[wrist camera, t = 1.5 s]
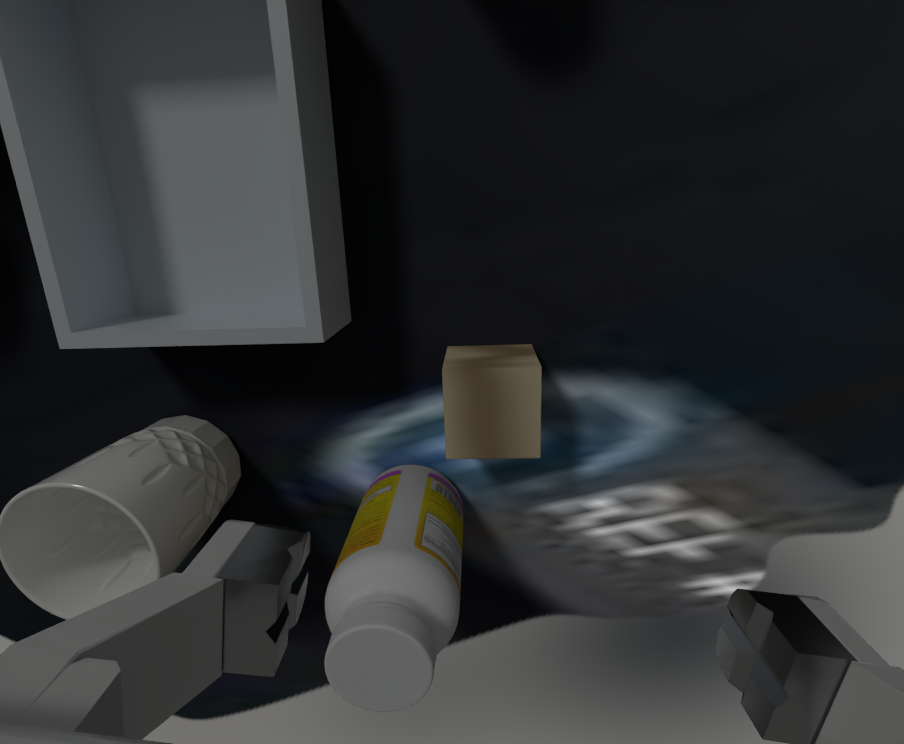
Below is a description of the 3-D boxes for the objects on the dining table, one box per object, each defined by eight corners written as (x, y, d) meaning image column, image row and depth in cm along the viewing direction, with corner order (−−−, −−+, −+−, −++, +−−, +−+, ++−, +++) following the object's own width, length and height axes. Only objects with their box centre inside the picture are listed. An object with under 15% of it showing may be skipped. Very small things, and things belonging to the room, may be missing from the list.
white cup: (155, 384, 32) (16, 454, 22) (268, 440, 33) (181, 531, 23) (119, 481, 34) (-21, 583, 25) (227, 531, 35) (131, 649, 25)
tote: (58, -10, 26) (-52, -71, 20) (318, -28, 25) (274, -96, 20) (132, 326, 31) (59, 348, 25) (351, 321, 30) (323, 342, 25)
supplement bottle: (359, 539, 34) (292, 716, 22) (370, 452, 32) (303, 593, 20) (456, 556, 34) (443, 742, 22) (472, 470, 32) (468, 621, 20)
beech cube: (531, 344, 30) (541, 367, 25) (530, 422, 31) (540, 458, 27) (447, 346, 30) (442, 369, 26) (451, 423, 32) (446, 459, 27)
